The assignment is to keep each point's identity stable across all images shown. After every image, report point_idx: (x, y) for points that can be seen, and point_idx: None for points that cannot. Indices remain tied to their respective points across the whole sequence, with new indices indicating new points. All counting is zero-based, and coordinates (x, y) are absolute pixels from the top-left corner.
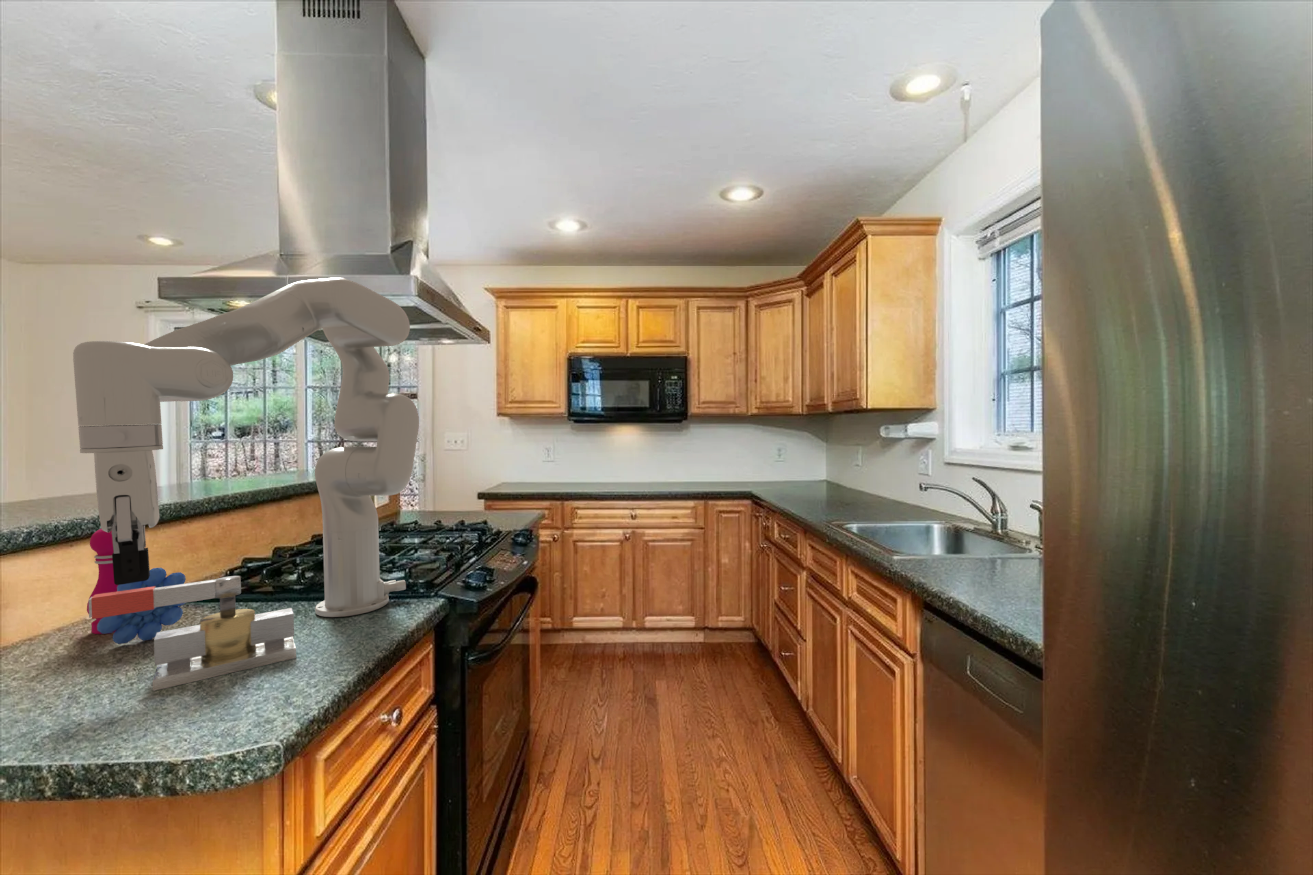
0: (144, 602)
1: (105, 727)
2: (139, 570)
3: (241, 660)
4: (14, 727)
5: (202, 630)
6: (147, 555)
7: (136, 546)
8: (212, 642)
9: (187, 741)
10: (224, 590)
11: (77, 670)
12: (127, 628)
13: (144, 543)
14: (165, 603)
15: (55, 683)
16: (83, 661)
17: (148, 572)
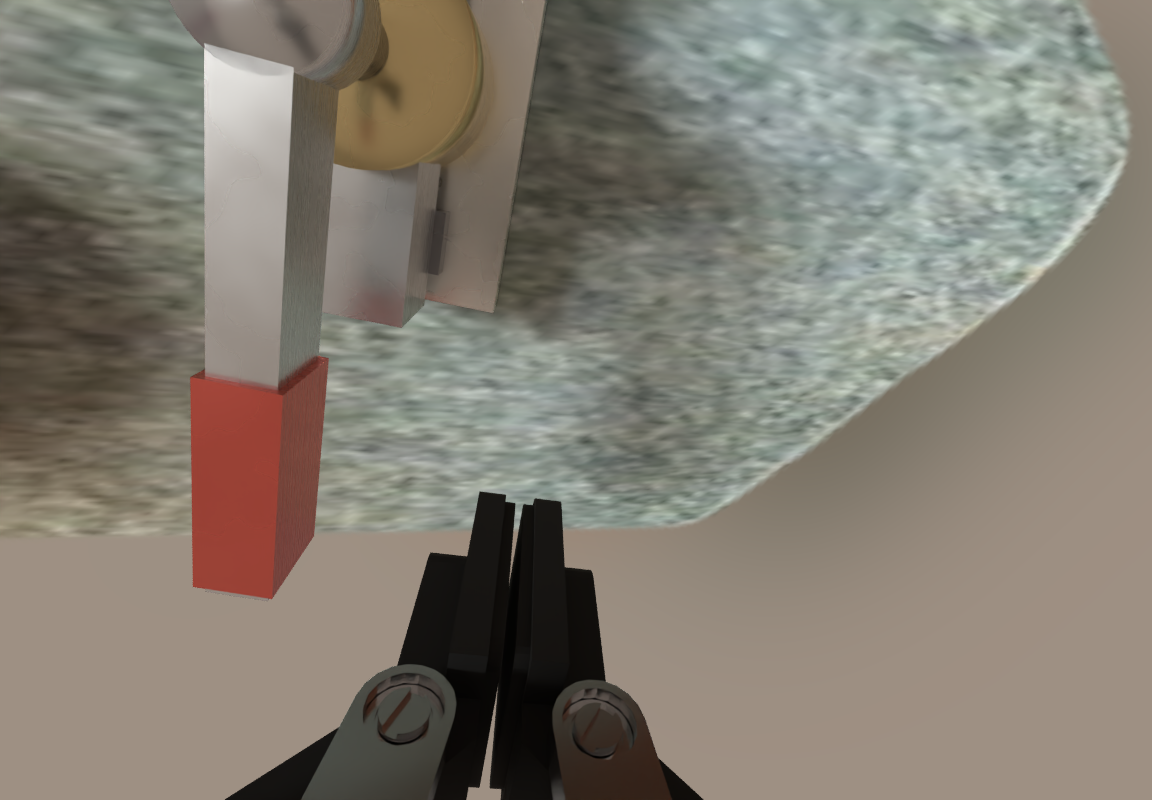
0: (309, 403)
1: (659, 406)
2: (586, 583)
3: (532, 64)
4: None
5: (415, 170)
6: (563, 618)
7: (676, 777)
8: (458, 142)
9: (917, 295)
10: (366, 34)
11: (125, 427)
12: None
13: (449, 714)
14: (318, 319)
15: None
16: (33, 412)
17: (558, 524)
